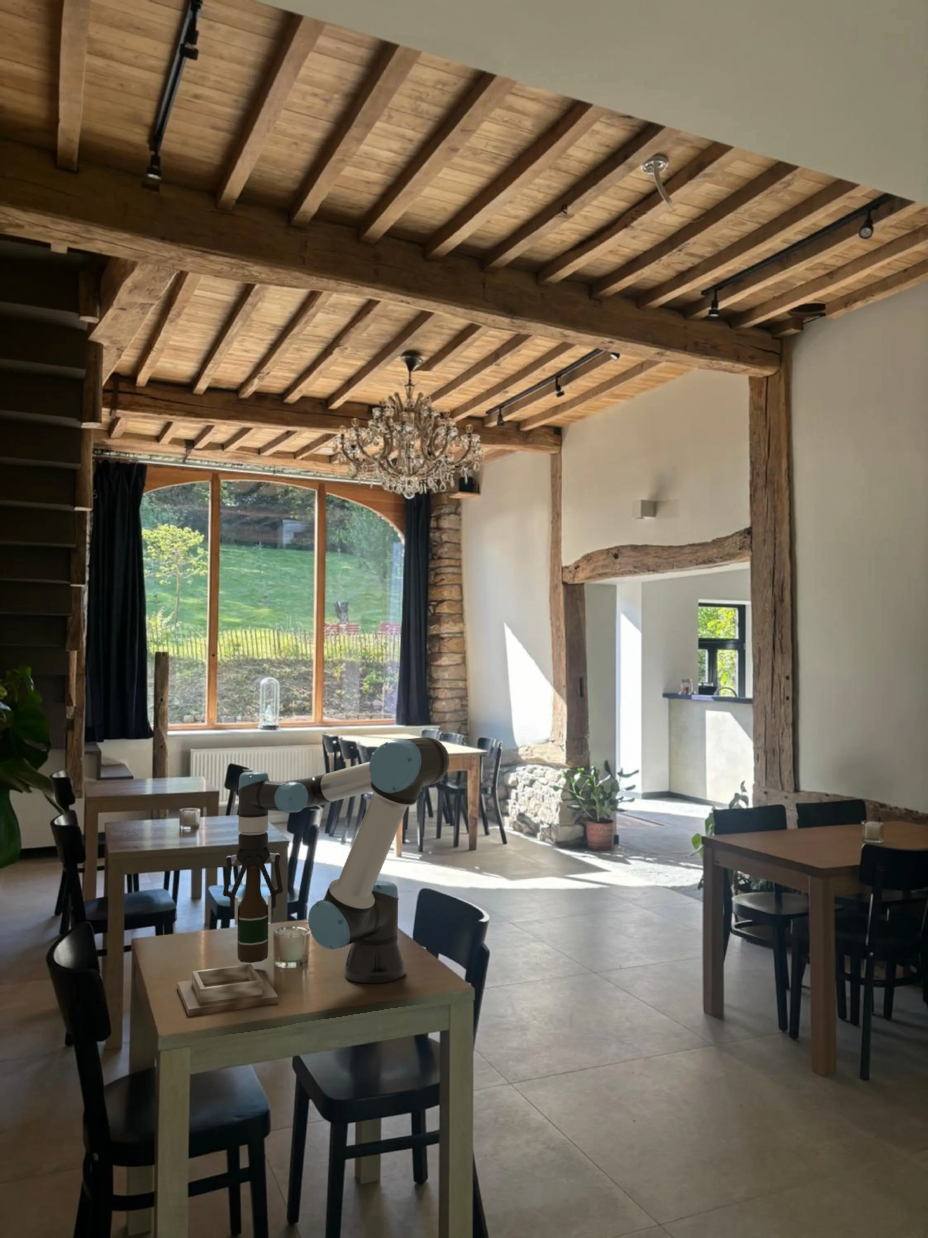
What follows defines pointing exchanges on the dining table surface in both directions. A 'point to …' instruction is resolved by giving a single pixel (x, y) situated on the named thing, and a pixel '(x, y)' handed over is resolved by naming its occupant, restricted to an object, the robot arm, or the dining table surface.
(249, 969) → the rim board
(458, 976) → the dining table surface
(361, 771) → the robot arm
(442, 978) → the dining table surface
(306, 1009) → the dining table surface
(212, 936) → the dining table surface
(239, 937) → the beer bottle
